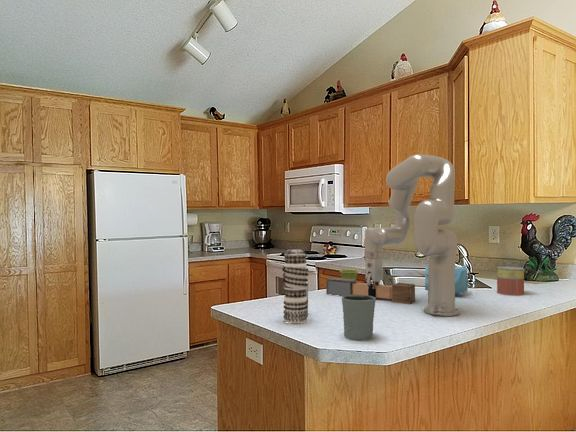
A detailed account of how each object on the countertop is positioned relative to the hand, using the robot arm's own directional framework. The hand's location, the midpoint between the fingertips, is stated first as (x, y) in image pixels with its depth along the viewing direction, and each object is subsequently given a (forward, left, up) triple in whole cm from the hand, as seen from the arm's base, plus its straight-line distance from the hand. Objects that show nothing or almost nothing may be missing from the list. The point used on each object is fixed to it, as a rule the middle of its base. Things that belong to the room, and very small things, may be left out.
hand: (373, 296), depth 186 cm
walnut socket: (0, -13, -1) cm, 13 cm away
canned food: (+44, -50, -1) cm, 66 cm away
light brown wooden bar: (0, +3, -1) cm, 4 cm away
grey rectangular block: (0, +16, -1) cm, 16 cm away
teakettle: (+26, -26, -1) cm, 37 cm away
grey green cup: (-57, -18, -1) cm, 60 cm away
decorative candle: (-52, +8, -1) cm, 53 cm away
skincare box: (-43, +12, -1) cm, 45 cm away
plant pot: (+18, +20, -1) cm, 27 cm away
